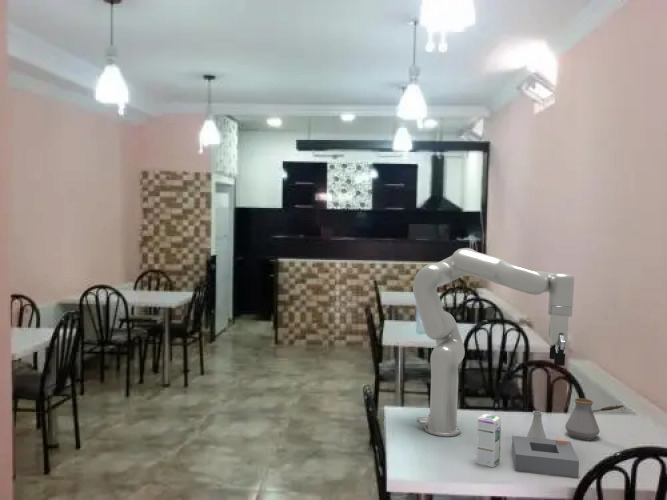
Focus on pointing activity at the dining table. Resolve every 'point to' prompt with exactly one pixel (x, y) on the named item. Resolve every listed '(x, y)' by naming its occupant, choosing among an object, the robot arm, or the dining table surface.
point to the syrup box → (488, 440)
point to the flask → (537, 427)
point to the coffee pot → (585, 419)
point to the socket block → (545, 456)
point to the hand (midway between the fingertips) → (556, 362)
